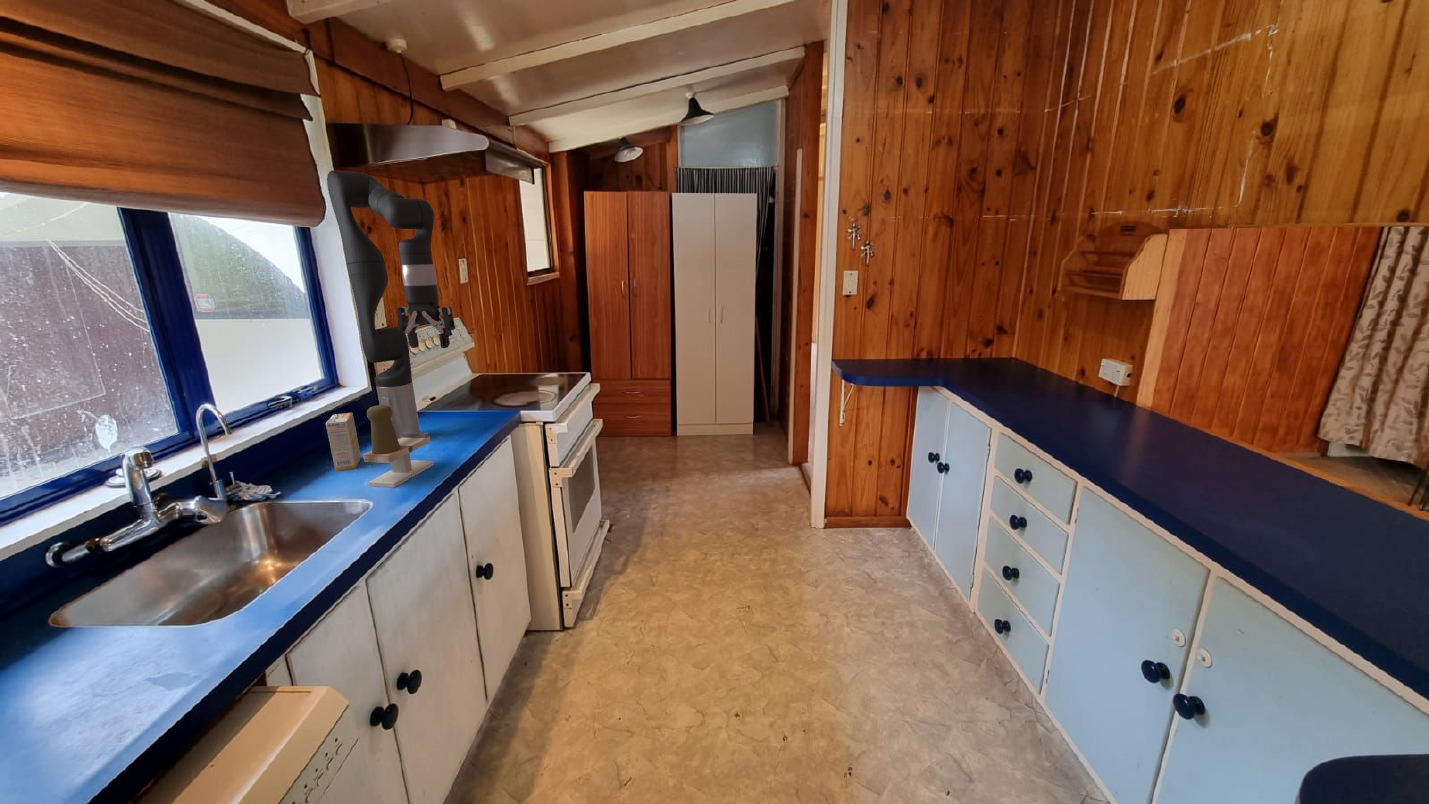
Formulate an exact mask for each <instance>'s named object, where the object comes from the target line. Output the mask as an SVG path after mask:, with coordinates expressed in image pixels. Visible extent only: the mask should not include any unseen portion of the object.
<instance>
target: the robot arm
mask: <svg viewBox="0 0 1429 804" xmlns="http://www.w3.org/2000/svg"><path fill="white" fill-rule="evenodd" d="M326 186H327V192H328V195H329V198H330V202H331V207H332V210H333V213H334V216H335V218H336V222H337V225H338V230H339V233H340V238H341V242H342V248H343V253H344V258H345V263H346V268H347V272H348V273H347V274H348V277H349V281H350V285H351V288H352V293H353V296H354V301H355V306H356V311H357V317H358V319H357V320H358V326H359V332H360V333H359V334H360V339H361V344H362V351H363V353H364V356H365V358H366V360H367V361H368V362H370V363H373V364H376V363H382V362H384V363H385V362H391V361H393V363H392V365H390V367H388V368H387V369H386V370H384V371H382V372H380V373H378V374H377V375H376V376H375V378H374V381H375V385H376V391H377V393H376V394H377V398H378V405H387V406H389V407H390V408H391V410H392V416H391V421H392V424H393V427H394V430H395V433H396V436H397V439H400V438H402V435H401V434H402V433H404V432H421V428H420V427H421V426H420V421H419V415H418V408H417V401H416V395H415V390H414V384H413V378H412V367H411V366H412V365H411V356H410V348H411V349H416V348H419V346H420V345H419V339H418V333H417V329H418V328H419V326H421V325H431V326H432V327H433V328H435V329H436V330H437V331H438V333H439V334H438V337H439V341H440V342H439V343H440V348H441V349H447V348H449V347H450V344H451V343H450V341H451V340H450V334H449V333H450V332H452V331H454V330H456V324H455V320H454V319H455V318H454V314H453V309H452V307H451V306H443V307H440V305H439V302H440V295H439V294H440V293H439V288H438V283H437V282H438V281H437V274H436V270H435V266H434V262H433V260H434V259H433V254H432V238H433V231H434V224H435V213H434V212H435V211H434V210H433V207H432V206H431V203H430V202H428V201H427V200H425V199H421V198H406V197H405V196H403V195H402V194H400V193H399V192H396V191H393V190H392V189H391V190H390V189H388V188H387V187H385V186H384V184H382V183H380V182H379V181H378V180H377V179H376V178H374V177H373V176H371V174H370V175H369V174H368V173H365V172H359V171H349V170H330V171H329V172H328V173H327V177H326ZM352 208H353V209H354V208H355V209H369V208H371V210H372V211H373V212H374V213H375V214H376V215H378V216H380V217H381V218H384V219H385V220H386V222H387V224H388V225H389V226H390V227H392V228H395V229H399V230H416V231H415V235H414V237H412V238H408V239H404V240H401V241H400V242H399V243H398V251H399V258H400V264H401V278H402V285H403V290H404V291H403V292H404V297H405V302H406V303H407V306H399V307H396V317H397V326H398V327H395V326H394V327H383V328H378V329H377V328H376V323H375V321H376V314H377V309H378V306H379V304H380V302H381V300H382V298H383V295H384V293H385V291H386V289H387V286H388V283H389V275H388V270H387V265H386V260H385V257H384V255H383V253H382V252H381V250H380V249H379V248H378V247H377V245H376V244H375V243H374V242H373V241H372V240H371V239H370V237H368V236H367V234H366V233H365V232H364V230H362V228H361V227H360V225H359V224H358V222H357V220H356V217H355V216H354V214H353V211H352ZM409 316H410V318H409ZM441 316H442V317H441ZM409 346H410V347H409Z"/></svg>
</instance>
